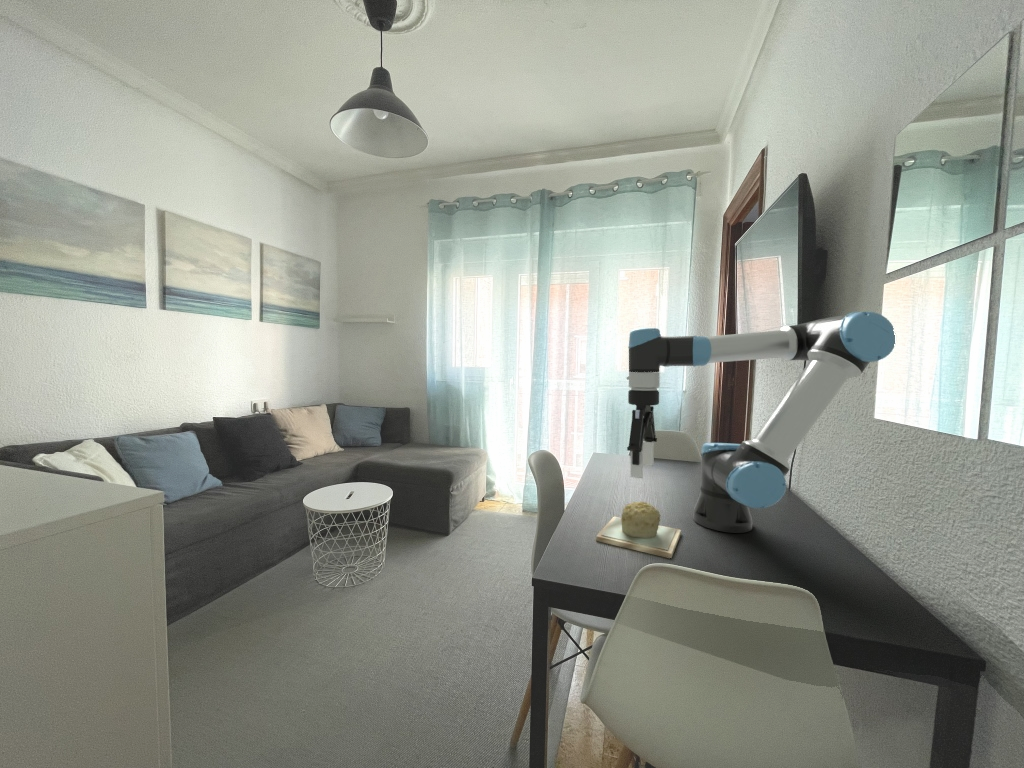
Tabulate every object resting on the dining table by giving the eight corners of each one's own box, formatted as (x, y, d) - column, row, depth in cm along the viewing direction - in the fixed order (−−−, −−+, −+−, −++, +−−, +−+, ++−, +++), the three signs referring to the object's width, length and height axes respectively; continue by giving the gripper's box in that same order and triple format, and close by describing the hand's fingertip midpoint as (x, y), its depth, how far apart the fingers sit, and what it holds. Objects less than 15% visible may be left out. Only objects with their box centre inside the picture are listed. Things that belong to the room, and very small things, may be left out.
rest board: (680, 534, 107) (680, 529, 107) (671, 558, 93) (671, 552, 93) (613, 520, 116) (613, 515, 116) (596, 540, 102) (596, 535, 102)
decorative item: (625, 550, 102) (640, 528, 96) (609, 516, 109) (623, 494, 103) (656, 546, 105) (673, 525, 99) (639, 513, 112) (654, 491, 106)
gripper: (639, 386, 115) (638, 459, 116) (615, 391, 94) (614, 480, 95) (667, 387, 111) (666, 462, 112) (648, 392, 90) (647, 485, 91)
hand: (642, 471), depth 103 cm, fingers open, 13 cm apart
